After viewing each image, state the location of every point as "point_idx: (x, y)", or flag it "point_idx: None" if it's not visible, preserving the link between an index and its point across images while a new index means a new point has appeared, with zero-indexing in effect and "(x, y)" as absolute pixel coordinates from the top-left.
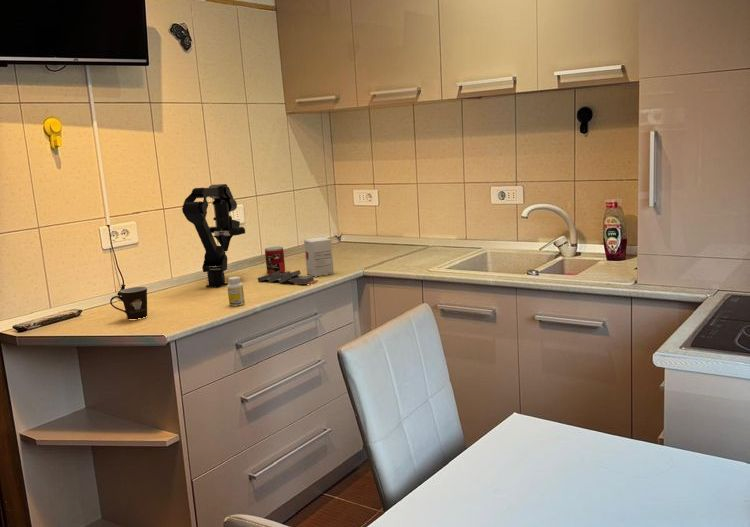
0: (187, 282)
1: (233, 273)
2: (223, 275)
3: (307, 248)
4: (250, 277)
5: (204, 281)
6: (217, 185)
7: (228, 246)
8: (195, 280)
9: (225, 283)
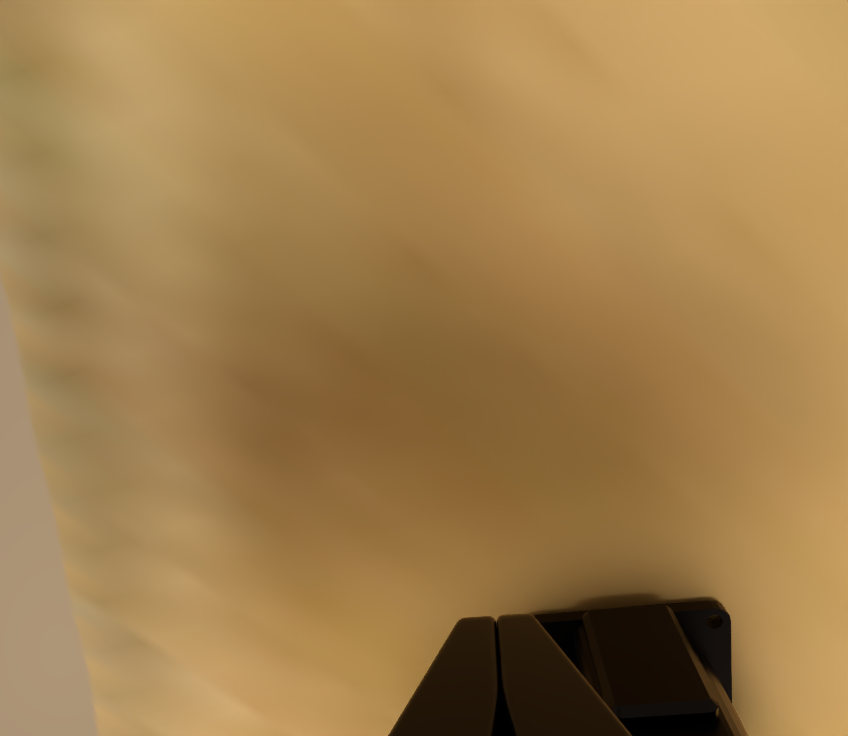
0: (92, 656)
1: (186, 8)
2: (720, 707)
3: None
4: (742, 157)
5: (250, 563)
6: None
7: (618, 728)
8: (80, 557)
9: (713, 638)
